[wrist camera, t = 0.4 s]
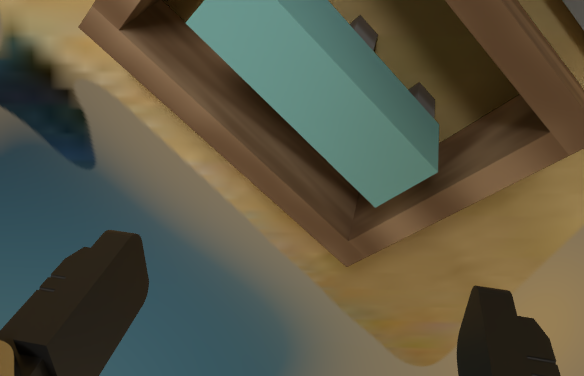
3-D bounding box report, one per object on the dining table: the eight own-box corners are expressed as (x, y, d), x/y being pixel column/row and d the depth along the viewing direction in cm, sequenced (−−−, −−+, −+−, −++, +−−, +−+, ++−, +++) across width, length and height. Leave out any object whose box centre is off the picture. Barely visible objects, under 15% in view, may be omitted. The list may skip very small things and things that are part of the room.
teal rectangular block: (269, -66, 25) (238, -41, 21) (439, 124, 29) (437, 172, 26) (219, -9, 28) (185, 22, 24) (383, 159, 32) (375, 207, 28)
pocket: (313, -273, 22) (283, -288, 18) (582, 88, 29) (605, 137, 25) (124, -4, 32) (78, 27, 28) (357, 217, 39) (346, 267, 35)
